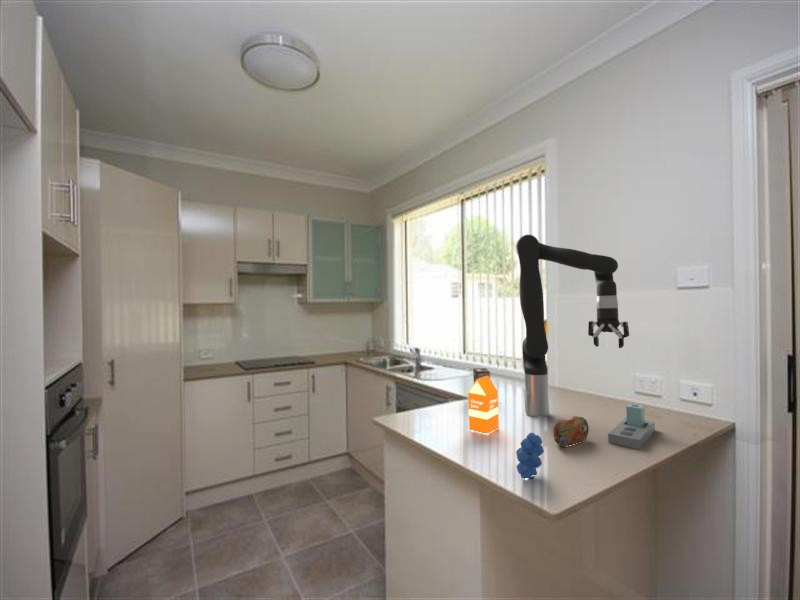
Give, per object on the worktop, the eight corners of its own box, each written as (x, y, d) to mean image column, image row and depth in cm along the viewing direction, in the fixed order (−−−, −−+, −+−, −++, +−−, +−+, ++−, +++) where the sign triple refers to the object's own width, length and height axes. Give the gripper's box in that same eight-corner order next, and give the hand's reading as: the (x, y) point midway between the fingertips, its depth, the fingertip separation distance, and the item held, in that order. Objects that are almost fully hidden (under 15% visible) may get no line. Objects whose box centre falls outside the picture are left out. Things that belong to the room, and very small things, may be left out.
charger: (627, 431, 130) (626, 405, 130) (630, 428, 133) (629, 402, 133) (642, 434, 127) (641, 408, 127) (645, 430, 130) (644, 405, 130)
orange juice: (469, 431, 137) (467, 378, 137) (481, 425, 143) (479, 374, 143) (487, 436, 131) (485, 380, 131) (499, 429, 138) (497, 376, 138)
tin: (559, 450, 118) (558, 423, 118) (551, 446, 121) (550, 421, 121) (590, 440, 125) (589, 415, 125) (581, 437, 127) (580, 413, 128)
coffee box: (474, 401, 176) (472, 368, 176) (487, 400, 176) (486, 367, 176) (477, 406, 167) (476, 371, 167) (491, 406, 167) (490, 371, 167)
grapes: (527, 465, 108) (526, 425, 108) (549, 473, 102) (548, 430, 102) (505, 479, 100) (503, 435, 100) (528, 488, 95) (526, 442, 95)
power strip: (640, 449, 116) (639, 438, 116) (608, 442, 122) (608, 431, 122) (654, 430, 131) (654, 420, 131) (626, 424, 137) (625, 415, 137)
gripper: (585, 307, 150) (586, 347, 150) (624, 307, 139) (626, 349, 139) (591, 306, 155) (592, 345, 155) (629, 306, 145) (631, 347, 145)
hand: (608, 347), depth 147 cm, fingers open, 8 cm apart
